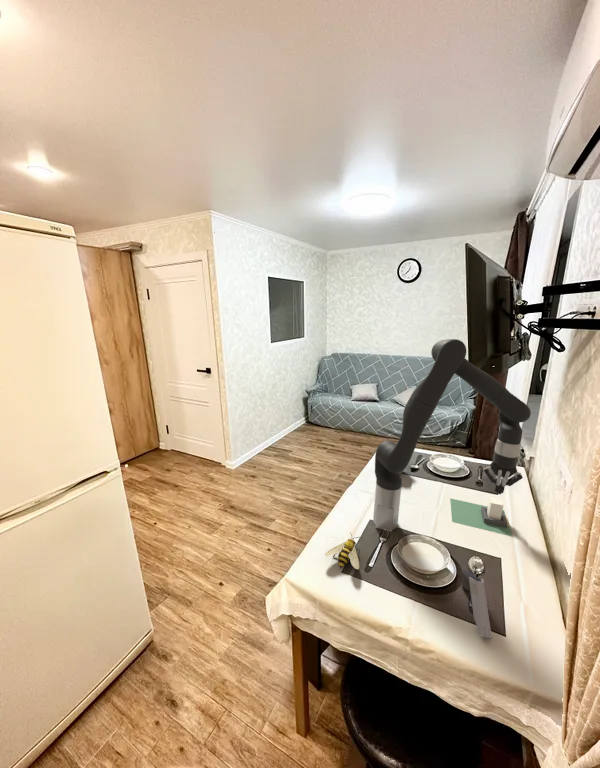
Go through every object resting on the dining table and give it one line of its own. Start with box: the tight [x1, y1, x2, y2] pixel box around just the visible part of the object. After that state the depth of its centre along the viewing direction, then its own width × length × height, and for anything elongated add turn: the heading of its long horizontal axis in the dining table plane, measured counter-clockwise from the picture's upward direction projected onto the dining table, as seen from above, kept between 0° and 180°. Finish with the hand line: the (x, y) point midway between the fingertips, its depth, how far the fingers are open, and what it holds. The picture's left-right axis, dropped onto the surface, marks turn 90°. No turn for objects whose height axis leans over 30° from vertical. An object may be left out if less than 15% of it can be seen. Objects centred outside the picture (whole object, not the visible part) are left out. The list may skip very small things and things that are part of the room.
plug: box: [486, 496, 504, 520], centre depth 122 cm, size 5×4×8 cm
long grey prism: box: [460, 569, 493, 639], centre depth 88 cm, size 4×15×12 cm
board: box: [449, 498, 513, 537], centre depth 124 cm, size 16×20×3 cm
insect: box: [324, 533, 363, 570], centre depth 105 cm, size 11×15×5 cm
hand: (498, 492), depth 119 cm, fingers closed
